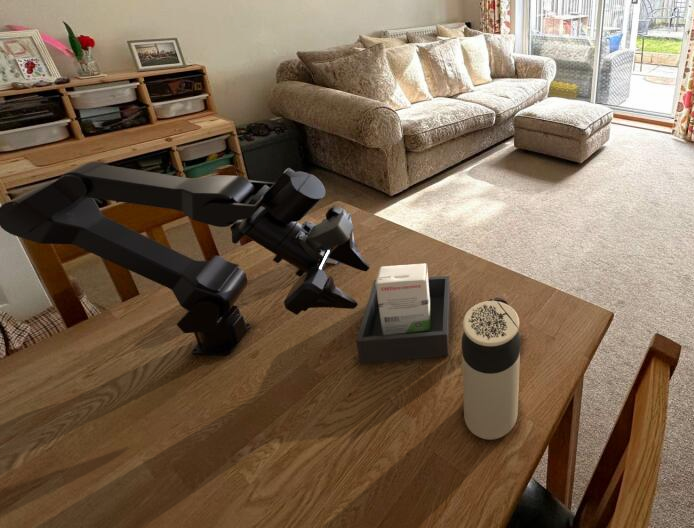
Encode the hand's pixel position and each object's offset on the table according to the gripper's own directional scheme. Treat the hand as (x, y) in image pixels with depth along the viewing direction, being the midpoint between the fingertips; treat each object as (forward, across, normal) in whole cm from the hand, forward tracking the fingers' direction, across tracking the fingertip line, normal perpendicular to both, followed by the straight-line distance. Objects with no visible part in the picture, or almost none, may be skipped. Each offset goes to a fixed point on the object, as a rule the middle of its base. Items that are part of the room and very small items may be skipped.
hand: (362, 286), depth 70 cm
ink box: (+12, 0, +2) cm, 12 cm away
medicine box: (-1, +24, +15) cm, 28 cm away
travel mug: (+22, -18, -8) cm, 30 cm away
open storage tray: (+12, 0, +2) cm, 12 cm away
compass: (+25, -5, -11) cm, 27 cm away
